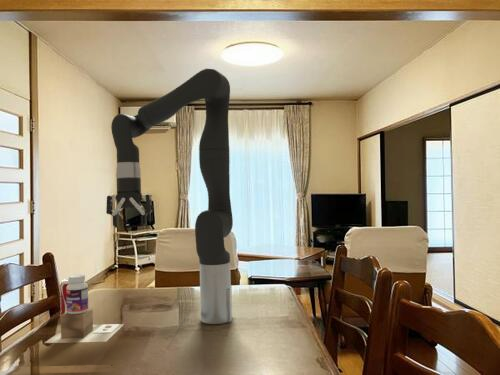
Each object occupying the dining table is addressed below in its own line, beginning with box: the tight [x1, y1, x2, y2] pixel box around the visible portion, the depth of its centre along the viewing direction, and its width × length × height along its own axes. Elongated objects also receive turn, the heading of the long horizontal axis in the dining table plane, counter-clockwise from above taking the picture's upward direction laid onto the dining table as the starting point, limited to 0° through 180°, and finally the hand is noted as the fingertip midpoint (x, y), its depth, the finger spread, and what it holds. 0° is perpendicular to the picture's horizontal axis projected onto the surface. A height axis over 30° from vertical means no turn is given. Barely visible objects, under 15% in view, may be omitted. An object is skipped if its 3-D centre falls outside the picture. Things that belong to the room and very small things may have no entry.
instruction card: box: [93, 323, 121, 333], centre depth 115 cm, size 5×7×1 cm
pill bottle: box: [66, 273, 89, 314], centre depth 111 cm, size 5×5×10 cm
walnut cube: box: [60, 308, 94, 339], centre depth 111 cm, size 6×6×6 cm
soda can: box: [59, 278, 70, 316], centre depth 130 cm, size 5×5×12 cm
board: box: [44, 323, 125, 344], centre depth 112 cm, size 16×14×1 cm
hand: (130, 227), depth 133 cm, fingers open, 8 cm apart
